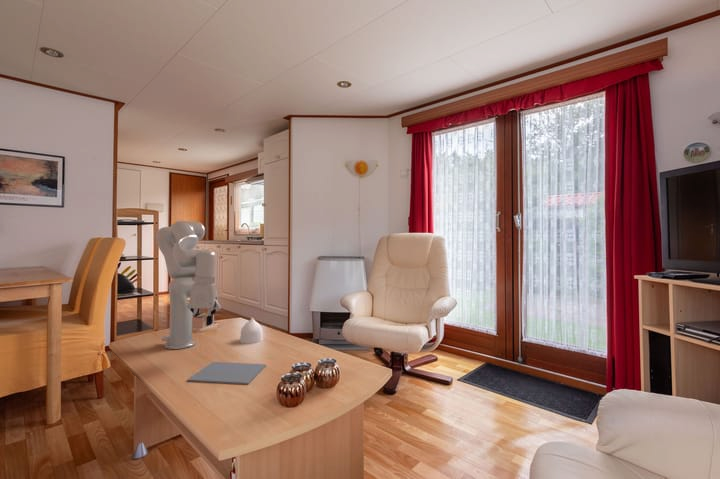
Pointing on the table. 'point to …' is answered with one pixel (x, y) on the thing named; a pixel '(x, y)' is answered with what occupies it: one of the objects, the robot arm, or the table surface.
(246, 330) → the white rounded dome
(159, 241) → the robot arm
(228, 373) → the mat
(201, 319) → the pinkish tan grooved block
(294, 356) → the table surface
